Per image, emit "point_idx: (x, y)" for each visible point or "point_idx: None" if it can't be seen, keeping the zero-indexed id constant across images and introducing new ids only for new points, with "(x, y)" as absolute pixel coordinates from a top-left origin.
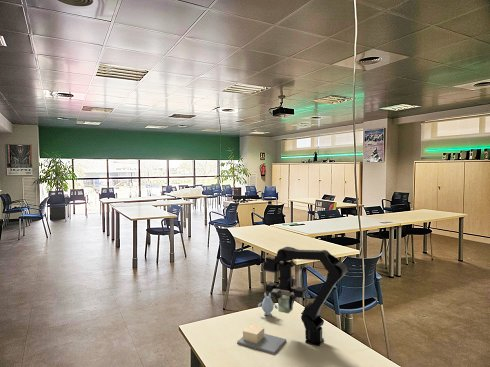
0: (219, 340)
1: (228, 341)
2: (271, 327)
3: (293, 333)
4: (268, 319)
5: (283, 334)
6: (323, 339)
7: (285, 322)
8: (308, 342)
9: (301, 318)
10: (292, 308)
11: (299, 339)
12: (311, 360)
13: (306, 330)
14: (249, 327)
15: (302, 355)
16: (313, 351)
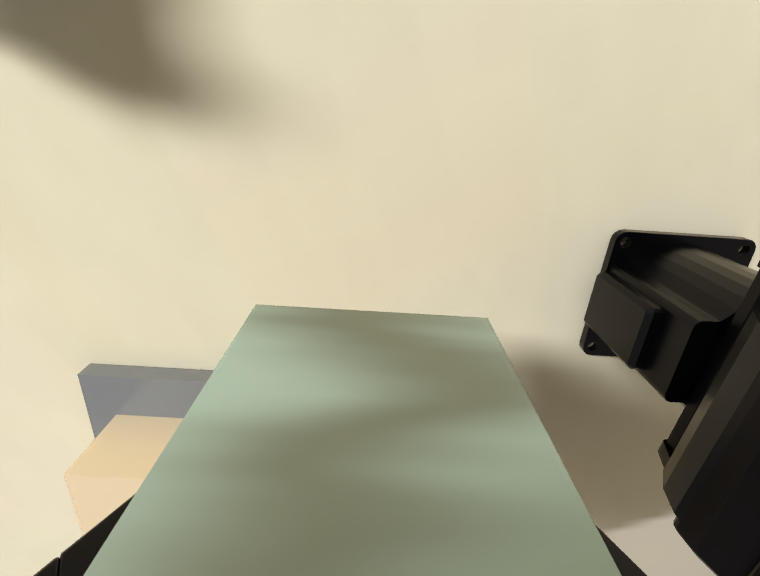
0: (3, 525)
1: (61, 516)
2: (195, 209)
3: (445, 237)
4: (41, 19)
5: (363, 291)
6: (750, 252)
7: (272, 7)
8: (611, 355)
9: (682, 534)
10: (492, 344)
11: (522, 315)
12: (637, 509)
13: (640, 368)
14: (98, 518)
15: (576, 486)
16: (648, 425)
